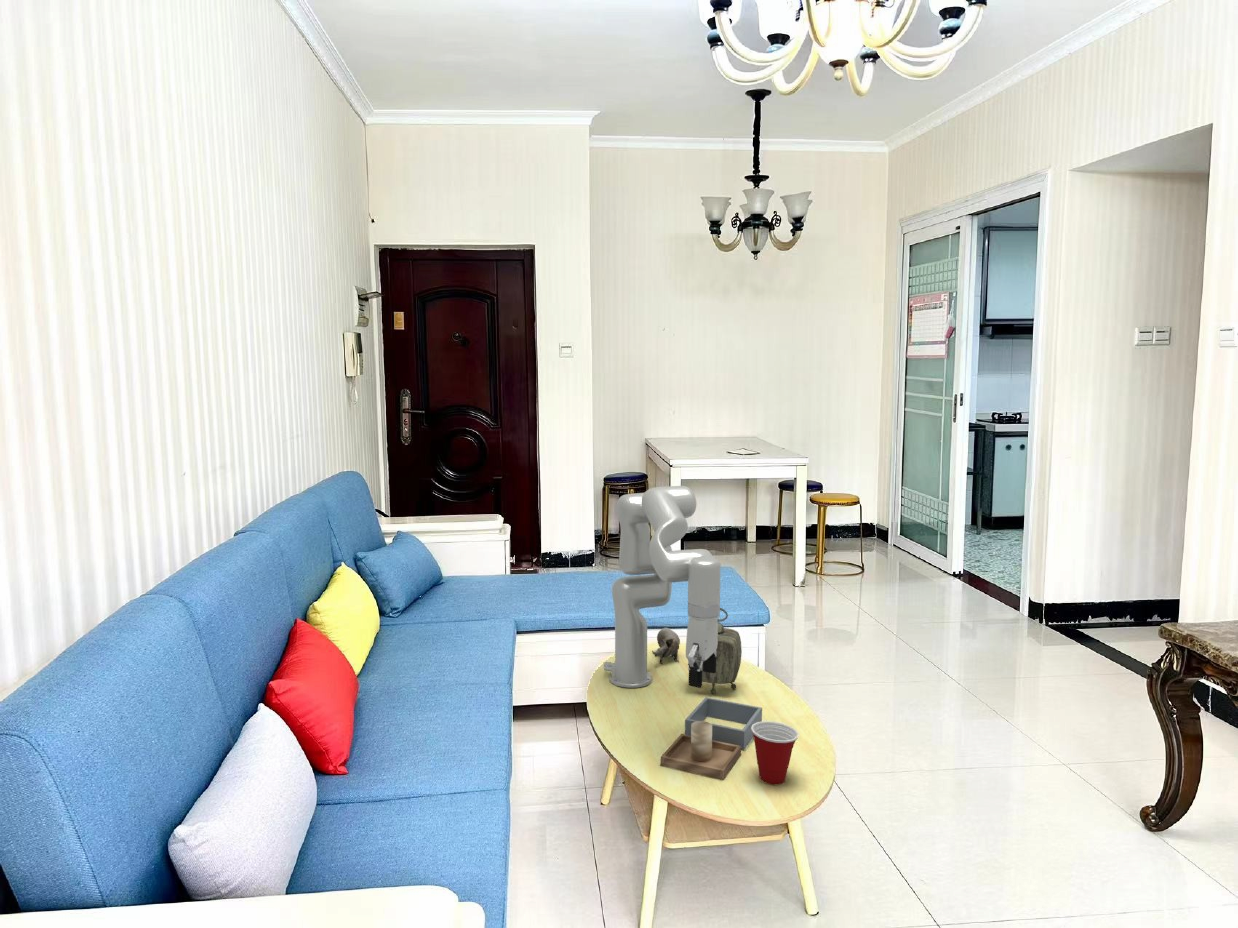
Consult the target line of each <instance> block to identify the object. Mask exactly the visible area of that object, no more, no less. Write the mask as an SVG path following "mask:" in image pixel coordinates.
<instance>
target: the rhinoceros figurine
mask: <svg viewBox="0 0 1238 928" xmlns="http://www.w3.org/2000/svg"><path fill="white" fill-rule="evenodd" d="M656 640H657V645H658V648H657V649H656V651H654V650H651V652H652V654H653V655H654V657H659V663H658V664H660V665H664V663H663V661H664V659H665V658H669V657H673V660H674V661H675V662H677V663H679V659H678V655H679V650H680V645H681V640H680V637H679V635H678V634H677V633H676V632H675V631H673V630H672V629H671V628H669V627H663V628H662V629H660V630H659V631H658V633H657V636H656Z"/></svg>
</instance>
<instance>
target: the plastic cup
mask: <svg viewBox="0 0 1238 928" xmlns="http://www.w3.org/2000/svg"><path fill="white" fill-rule="evenodd" d="M751 730H752V732H753V741H754V749H755V754H756V755H755V756H756V762H757V768H758V774H759V778H760V781H762V782H763V783H765V784H768V785H773V786H775V785H781V784H783V783H785V782H786V779H787V774H788V769H789V766H790V762H791V757H792V751H793V748H794V745H795V743H796V741H797V739H798V738H799V735H800V733H799V732H798V730H797V729H795V728H794V727H793V726H790V725H788V724H785V723H783V722H779V721H772V720H769V721H768V720H762V722H757V723H755V724H753V725H752V727H751Z"/></svg>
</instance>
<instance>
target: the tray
mask: <svg viewBox="0 0 1238 928" xmlns="http://www.w3.org/2000/svg"><path fill="white" fill-rule="evenodd" d="M741 756H742V750H741V746H739V745H734V744H729V743H724V742H719V741H714V740H712V759H711V760H710V761H707V762H697V761H694V760H693V759H692V758H691V736H690V735H686V734H685V733H680V734H679V735H678V737H677V738H675V740H674V741H673V742H672V743H671V744H670V746H669V747H668V748H667V749H666V750H665V751H664V752H663V754H661V756H660V757H659V758H660V762H659V763H660V765H659V766H660V767H662V768H668V769H672V770H676V771H682V772H685V773H690V774H695V775H699V776H704V777H709V778H711V779H716V780H719V781H724V780H725V779H726V777H727V775H728V774H729V773H730V771H731V770H732V769H733V767H734V766H735V764H736V762H738V760H739V758H741Z"/></svg>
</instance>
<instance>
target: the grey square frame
mask: <svg viewBox="0 0 1238 928" xmlns="http://www.w3.org/2000/svg"><path fill="white" fill-rule="evenodd" d="M708 717H709V718H712V719H713V718H714V719H717V718H718V719H719V720H723V721H727V722H728V721H729V722H733V723H740V724H743V725H744V727H743V728H742V729H741V728H736V727H731V726H726V725H720V724H716V723H711V724H712V740H714V741H719V742H724V743H729V744H734V745H739V746H741V752H742V751H743V752H744V751H745V750H747V747H749V745H750V743H751V742H752V740H754V737H753V732H752V730H751V727H752V725H753V724H755V723H757V722H762V721H763V707H760V706H755V705H749V704H744V703H739V702H734V701H733V702H732V701H728V700H723V699H717V698H712V697H704V699H702V701H701V702H700V703H699V704H698V705H697V706H695V708H694V709H693V710H692V711H691V713H690V714H689V715H688V716H687V717H686V718H685V719H684V734H686V735H690V736H691V724H692V723H693V722H696V721H706V719H707V718H708Z"/></svg>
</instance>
